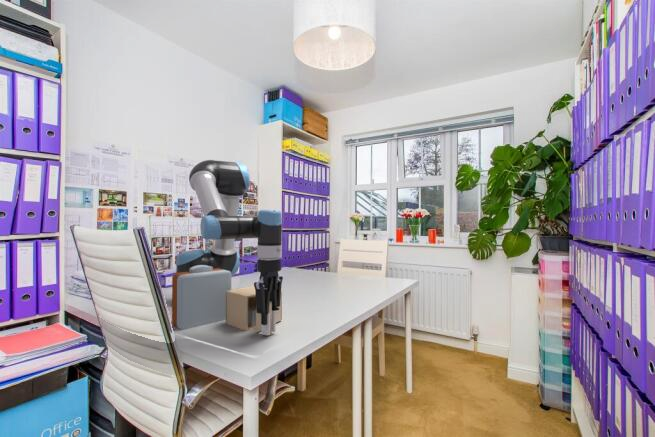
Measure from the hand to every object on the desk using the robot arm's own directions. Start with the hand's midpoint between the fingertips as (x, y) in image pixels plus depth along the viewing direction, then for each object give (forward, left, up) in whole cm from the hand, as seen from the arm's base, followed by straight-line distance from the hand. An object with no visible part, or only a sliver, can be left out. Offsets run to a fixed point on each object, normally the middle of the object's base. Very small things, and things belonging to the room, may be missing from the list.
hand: (268, 332), depth 99 cm
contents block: (-14, +4, -1) cm, 15 cm away
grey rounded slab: (-29, -6, -2) cm, 30 cm away
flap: (-4, +6, -1) cm, 7 cm away
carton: (-15, +5, -2) cm, 15 cm away
